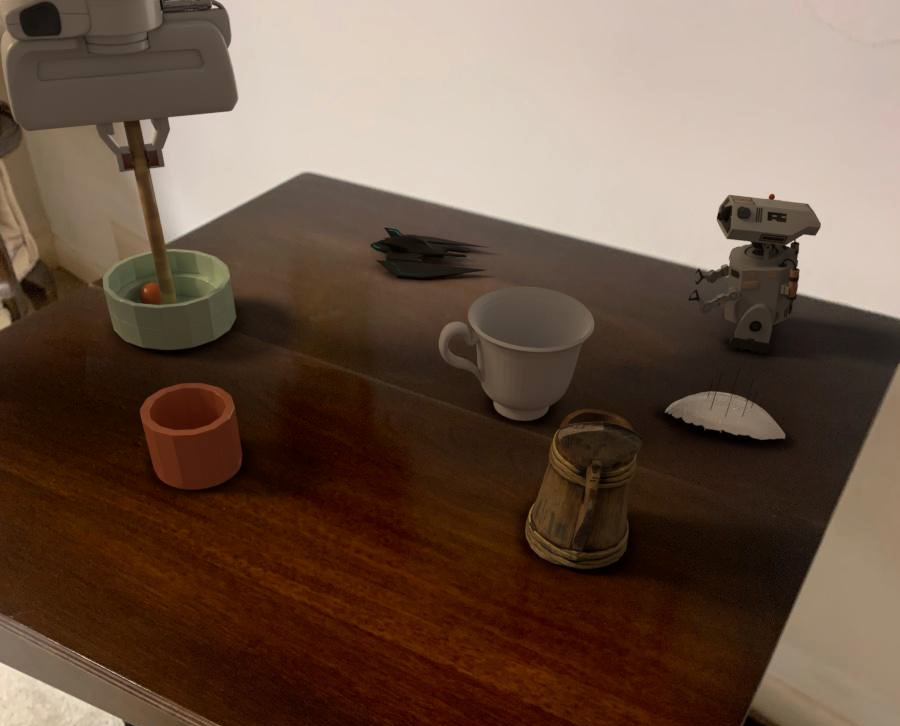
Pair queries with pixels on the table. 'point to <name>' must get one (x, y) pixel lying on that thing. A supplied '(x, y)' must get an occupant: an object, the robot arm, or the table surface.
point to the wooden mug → (585, 492)
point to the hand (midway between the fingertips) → (140, 167)
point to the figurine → (759, 265)
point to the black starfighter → (418, 255)
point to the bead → (150, 294)
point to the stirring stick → (150, 211)
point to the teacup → (522, 347)
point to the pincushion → (726, 414)
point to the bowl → (172, 325)
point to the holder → (192, 435)
